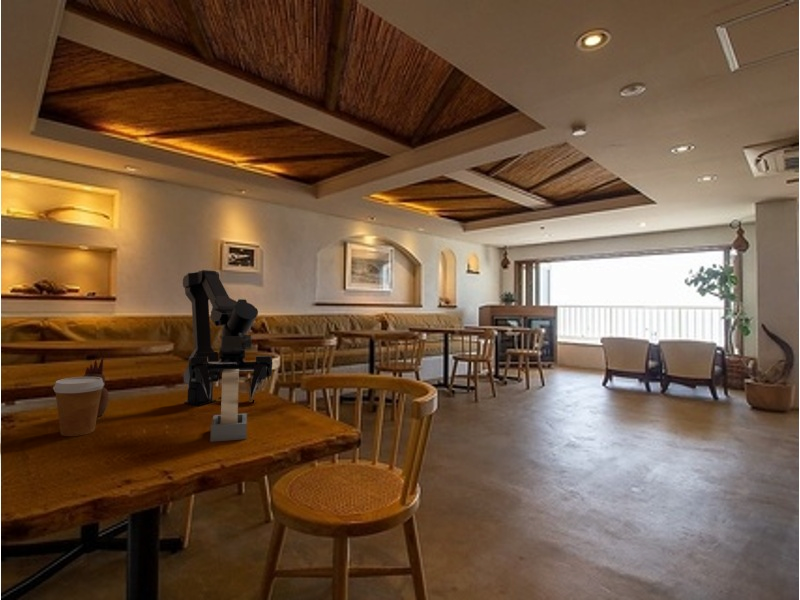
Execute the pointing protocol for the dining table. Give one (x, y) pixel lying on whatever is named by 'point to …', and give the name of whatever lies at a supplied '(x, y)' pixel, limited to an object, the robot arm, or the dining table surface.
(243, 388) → the lion figurine
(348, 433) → the dining table surface
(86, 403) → the disposable coffee cup
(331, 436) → the dining table surface
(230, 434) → the end cap
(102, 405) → the wooden figurine
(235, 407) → the slat
